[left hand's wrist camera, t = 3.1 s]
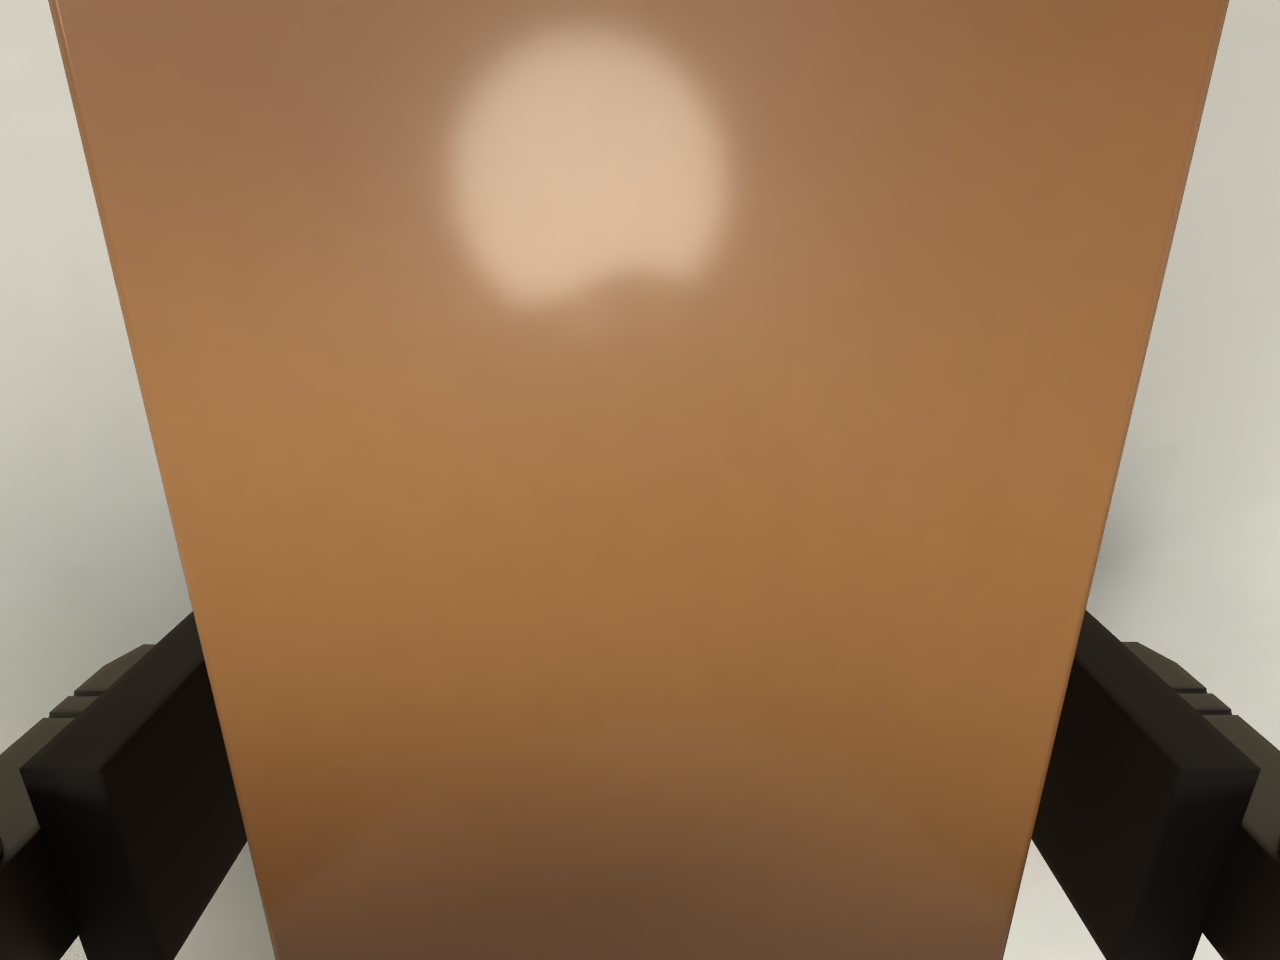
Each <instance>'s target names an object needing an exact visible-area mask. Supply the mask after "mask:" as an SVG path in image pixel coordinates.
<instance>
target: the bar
mask: <svg viewBox="0 0 1280 960" xmlns="http://www.w3.org/2000/svg"><path fill="white" fill-rule="evenodd" d="M48 1H49V5H50V10H51V14H52V18H53V22H54V26H55V31H56V35H57V39H58V43H59V47H60V52H61V56H62V60H63V64H64V69H65V73H66V77H67V81H68V85H69V90H70V94H71V98H72V102H73V107H74V111H75V115H76V119H77V123H78V128H79V132H80V136H81V140H82V144H83V149H84V153H85V157H86V161H87V166H88V170H89V174H90V178H91V182H92V187H93V191H94V195H95V199H96V203H97V208H98V212H99V216H100V220H101V225H102V229H103V233H104V237H105V241H106V246H107V250H108V254H109V258H110V262H111V267H112V271H113V275H114V279H115V284H116V288H117V292H118V296H119V300H120V305H121V309H122V313H123V317H124V322H125V326H126V330H127V334H128V338H129V343H130V347H131V351H132V355H133V359H134V364H135V368H136V372H137V376H138V381H139V385H140V389H141V393H142V397H143V402H144V406H145V410H146V414H147V418H148V423H149V427H150V431H151V435H152V440H153V444H154V448H155V452H156V456H157V461H158V465H159V469H160V473H161V477H162V482H163V486H164V490H165V494H166V499H167V503H168V507H169V511H170V515H171V520H172V524H173V528H174V532H175V537H176V541H177V545H178V549H179V553H180V558H181V562H182V566H183V570H184V574H185V579H186V583H187V587H188V591H189V596H190V600H191V604H192V608H193V612H194V617H195V621H196V625H197V629H198V633H199V638H200V642H201V646H202V650H203V655H204V659H205V663H206V667H207V671H208V676H209V680H210V684H211V688H212V692H213V697H214V701H215V705H216V709H217V714H218V718H219V722H220V726H221V730H222V735H223V739H224V743H225V747H226V752H227V756H228V760H229V764H230V768H231V773H232V777H233V781H234V785H235V789H236V794H237V798H238V802H239V806H240V811H241V815H242V819H243V823H244V827H245V832H246V836H247V840H248V844H249V848H250V853H251V857H252V861H253V865H254V870H255V874H256V878H257V882H258V886H259V891H260V895H261V899H262V903H263V908H264V912H265V916H266V920H267V924H268V929H269V933H270V937H271V941H272V945H273V950H274V954H275V958H276V960H1003V956H1004V952H1005V947H1006V943H1007V939H1008V935H1009V931H1010V926H1011V922H1012V918H1013V914H1014V909H1015V905H1016V901H1017V897H1018V892H1019V888H1020V884H1021V880H1022V875H1023V871H1024V867H1025V863H1026V859H1027V854H1028V850H1029V846H1030V842H1031V837H1032V833H1033V829H1034V825H1035V820H1036V816H1037V812H1038V808H1039V804H1040V799H1041V795H1042V791H1043V787H1044V782H1045V778H1046V774H1047V770H1048V765H1049V761H1050V757H1051V753H1052V748H1053V744H1054V740H1055V736H1056V732H1057V727H1058V723H1059V719H1060V715H1061V710H1062V706H1063V702H1064V698H1065V693H1066V689H1067V685H1068V681H1069V676H1070V672H1071V668H1072V664H1073V660H1074V655H1075V651H1076V647H1077V643H1078V638H1079V634H1080V630H1081V626H1082V621H1083V617H1084V613H1085V609H1086V604H1087V600H1088V596H1089V592H1090V588H1091V583H1092V579H1093V575H1094V571H1095V566H1096V562H1097V558H1098V554H1099V549H1100V545H1101V541H1102V537H1103V532H1104V528H1105V524H1106V520H1107V516H1108V511H1109V507H1110V503H1111V499H1112V494H1113V490H1114V486H1115V482H1116V477H1117V473H1118V469H1119V465H1120V460H1121V456H1122V452H1123V448H1124V444H1125V439H1126V435H1127V431H1128V427H1129V422H1130V418H1131V414H1132V410H1133V405H1134V401H1135V397H1136V393H1137V389H1138V384H1139V380H1140V376H1141V372H1142V367H1143V363H1144V359H1145V355H1146V350H1147V346H1148V342H1149V338H1150V333H1151V329H1152V325H1153V321H1154V317H1155V312H1156V308H1157V304H1158V300H1159V295H1160V291H1161V287H1162V283H1163V278H1164V274H1165V270H1166V266H1167V261H1168V257H1169V253H1170V249H1171V245H1172V240H1173V236H1174V232H1175V228H1176V223H1177V219H1178V215H1179V211H1180V206H1181V202H1182V198H1183V194H1184V189H1185V185H1186V181H1187V177H1188V173H1189V168H1190V164H1191V160H1192V156H1193V151H1194V147H1195V143H1196V139H1197V134H1198V130H1199V126H1200V122H1201V117H1202V113H1203V109H1204V105H1205V101H1206V96H1207V92H1208V88H1209V84H1210V79H1211V75H1212V71H1213V67H1214V62H1215V58H1216V54H1217V50H1218V45H1219V41H1220V37H1221V33H1222V29H1223V24H1224V20H1225V16H1226V12H1227V7H1228V3H1229V0H48Z"/></svg>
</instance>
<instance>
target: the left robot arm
mask: <svg viewBox="0 0 1280 960" xmlns="http://www.w3.org/2000/svg"><path fill="white" fill-rule="evenodd" d="M1031 839H1032V840H1033V842H1034V844H1035V845H1036V847H1037V848H1038V850H1039V852H1040V853H1041V855H1042V856H1043V858H1044V860H1045V861H1046V863H1047V865H1048V866H1049V868H1050V869H1051V871H1052V873H1053V874H1054V876H1055V878H1056V879H1057V881H1058V882H1059V884H1060V886H1061V887H1062V889H1063V890H1064V892H1065V894H1066V895H1067V897H1068V899H1069V900H1070V902H1071V903H1072V905H1073V907H1074V908H1075V910H1076V911H1077V913H1078V915H1079V916H1080V918H1081V920H1082V921H1083V923H1084V924H1085V926H1086V928H1087V929H1088V931H1089V932H1090V934H1091V936H1092V937H1093V939H1094V941H1095V942H1096V944H1097V945H1098V947H1099V949H1100V950H1101V952H1102V953H1103V955H1104V957H1105V958H1106V960H1193V957H1194V954H1195V951H1196V948H1197V946H1198V943H1199V940H1200V937H1201V935H1202V932H1203V934H1204V935H1205V936H1206V938H1207V939H1208V940H1209V942H1210V943H1211V944H1212V945H1213V947H1214V948H1215V949H1216V951H1217V952H1218V953H1219V954H1220V956H1221V957H1222V958H1223V960H1280V751H1279V750H1278V749H1277V748H1276V747H1275V746H1273V745H1272V744H1271V743H1270V742H1269V741H1268V740H1266V739H1265V738H1264V737H1263V736H1262V735H1260V734H1259V733H1258V732H1257V731H1256V730H1255V729H1253V728H1252V727H1251V726H1250V725H1249V724H1248V723H1246V722H1245V721H1244V720H1243V719H1242V718H1241V717H1239V716H1238V715H1232V713H1231V709H1230V708H1229V707H1228V706H1226V705H1225V704H1224V703H1223V702H1222V701H1221V700H1219V699H1218V698H1217V697H1216V696H1215V695H1214V694H1208V693H1207V691H1206V688H1205V687H1204V686H1203V685H1202V684H1201V683H1199V682H1198V681H1197V680H1196V679H1195V678H1194V677H1192V676H1191V675H1190V674H1189V673H1188V672H1187V671H1185V670H1184V669H1183V668H1182V667H1181V666H1179V665H1178V664H1177V663H1175V662H1174V661H1172V660H1170V659H1168V658H1166V657H1164V656H1162V655H1160V654H1159V653H1157V652H1155V651H1153V650H1151V649H1149V648H1147V647H1146V646H1144V645H1142V644H1140V643H1138V642H1121V641H1119V640H1118V639H1117V638H1116V637H1115V636H1114V635H1113V634H1112V633H1111V632H1110V631H1108V630H1107V629H1106V628H1105V627H1104V626H1103V625H1102V624H1101V623H1100V622H1098V621H1097V620H1096V619H1095V618H1094V617H1093V616H1092V615H1091V614H1090V613H1089V612H1087V611H1086V610H1085V613H1084V617H1083V621H1082V626H1081V630H1080V634H1079V638H1078V643H1077V647H1076V651H1075V655H1074V660H1073V664H1072V668H1071V672H1070V676H1069V681H1068V685H1067V689H1066V693H1065V698H1064V702H1063V706H1062V710H1061V715H1060V719H1059V723H1058V727H1057V732H1056V736H1055V740H1054V744H1053V748H1052V753H1051V757H1050V761H1049V765H1048V770H1047V774H1046V778H1045V782H1044V787H1043V791H1042V795H1041V799H1040V804H1039V808H1038V812H1037V816H1036V820H1035V825H1034V829H1033V833H1032V837H1031ZM246 842H247V836H246V832H245V827H244V823H243V819H242V815H241V811H240V806H239V802H238V798H237V794H236V789H235V785H234V781H233V777H232V773H231V768H230V764H229V760H228V756H227V752H226V747H225V743H224V739H223V735H222V730H221V726H220V722H219V718H218V714H217V709H216V705H215V701H214V697H213V692H212V688H211V684H210V680H209V676H208V671H207V667H206V663H205V659H204V655H203V650H202V646H201V642H200V638H199V633H198V629H197V625H196V621H195V617H194V612H191V613H190V614H189V615H188V616H187V617H186V618H185V619H184V620H183V621H181V622H180V623H179V624H178V625H177V626H176V627H175V628H174V629H173V630H172V631H170V632H169V633H168V634H167V635H166V636H165V637H164V638H163V639H162V640H161V641H159V642H158V643H157V644H156V645H142V646H140V647H138V648H136V649H134V650H133V651H131V652H129V653H127V654H125V655H123V656H121V657H120V658H118V659H116V660H114V661H112V662H110V663H108V664H107V665H105V666H103V667H102V668H101V669H100V670H99V671H97V672H96V673H95V674H94V675H93V676H92V677H90V678H89V679H88V680H87V681H86V682H85V683H83V684H82V685H81V686H80V687H79V688H78V689H76V690H75V691H74V696H68V697H67V698H66V699H65V700H64V701H62V702H61V703H60V704H59V705H58V706H57V707H55V708H54V709H53V710H52V711H51V712H50V715H49V718H43V719H41V720H40V721H39V722H38V723H37V724H36V725H34V726H33V727H32V728H31V729H30V730H29V731H27V732H26V733H25V734H24V735H23V736H22V737H20V738H19V739H18V740H17V741H16V742H15V743H13V744H12V745H11V746H10V747H9V748H8V749H6V750H5V751H4V752H3V753H2V754H1V755H0V960H60V959H61V957H62V956H63V955H64V954H65V952H66V951H67V950H68V948H69V947H70V946H71V944H72V943H73V942H74V941H75V939H76V938H77V937H78V935H79V937H80V940H81V943H82V946H83V948H84V951H85V954H86V957H87V960H174V958H175V957H176V955H177V953H178V952H179V950H180V949H181V947H182V945H183V944H184V942H185V941H186V939H187V937H188V936H189V934H190V932H191V931H192V929H193V928H194V926H195V924H196V923H197V921H198V920H199V918H200V916H201V915H202V913H203V911H204V910H205V908H206V907H207V905H208V903H209V902H210V900H211V899H212V897H213V895H214V894H215V892H216V890H217V889H218V887H219V886H220V884H221V882H222V881H223V879H224V877H225V876H226V874H227V873H228V871H229V869H230V868H231V866H232V865H233V863H234V861H235V860H236V858H237V856H238V855H239V853H240V852H241V850H242V848H243V847H244V845H245V844H246Z"/></svg>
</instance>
